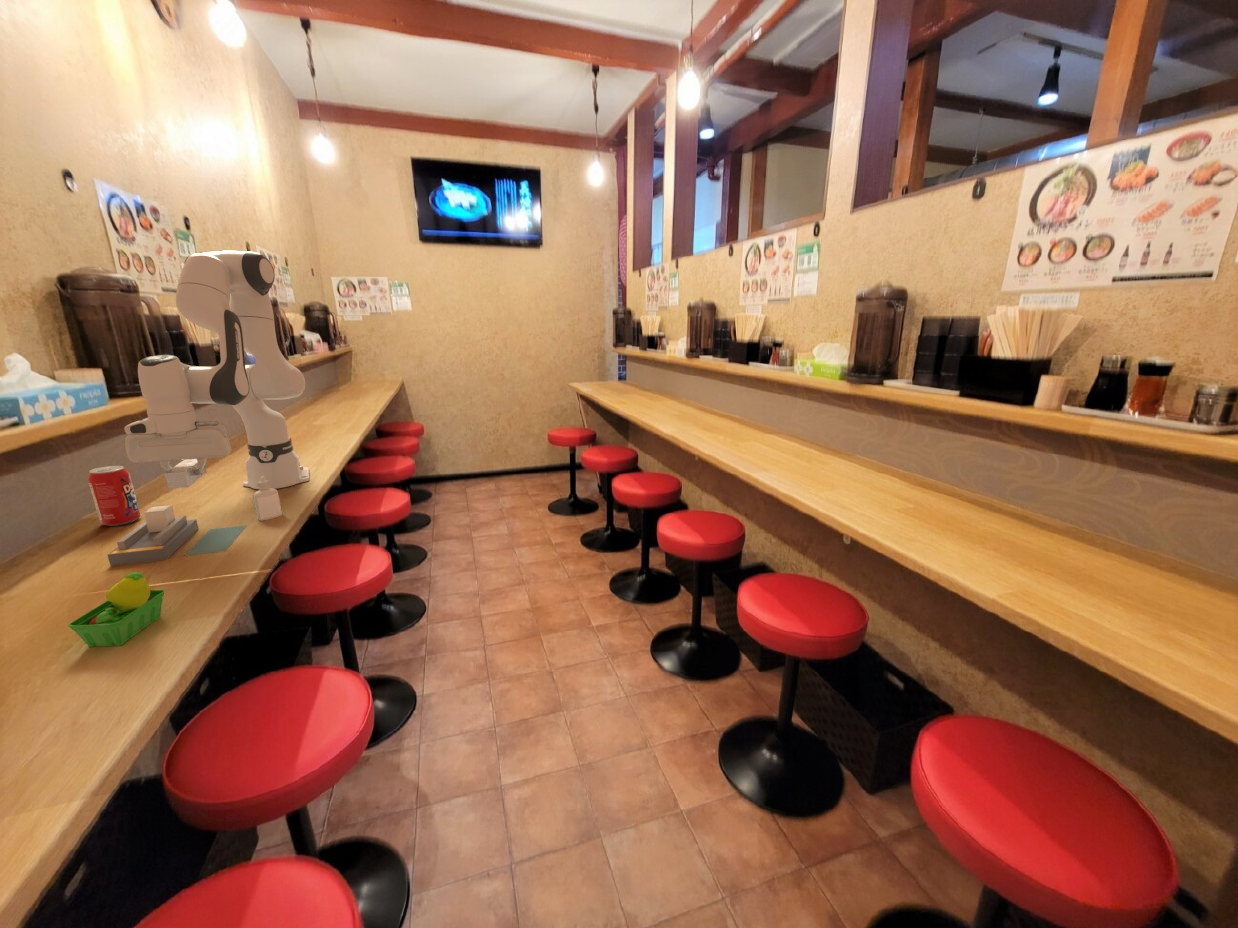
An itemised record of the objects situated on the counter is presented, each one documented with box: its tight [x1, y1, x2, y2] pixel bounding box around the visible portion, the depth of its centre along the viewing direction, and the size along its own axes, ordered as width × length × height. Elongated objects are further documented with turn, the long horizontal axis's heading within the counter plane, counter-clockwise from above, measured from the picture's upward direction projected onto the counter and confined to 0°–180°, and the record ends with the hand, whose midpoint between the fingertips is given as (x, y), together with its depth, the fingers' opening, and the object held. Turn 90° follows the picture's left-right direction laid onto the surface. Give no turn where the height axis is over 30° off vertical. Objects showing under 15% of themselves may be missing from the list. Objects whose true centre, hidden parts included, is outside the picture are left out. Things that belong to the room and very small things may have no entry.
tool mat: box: [184, 524, 248, 557], centre depth 125 cm, size 16×8×1 cm, turn 20°
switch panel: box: [107, 515, 199, 567], centre depth 121 cm, size 18×10×5 cm, turn 20°
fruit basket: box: [67, 572, 166, 648], centre depth 88 cm, size 11×9×11 cm
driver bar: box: [163, 459, 208, 490], centre depth 128 cm, size 12×4×4 cm, turn 21°
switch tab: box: [143, 505, 176, 533], centre depth 123 cm, size 4×4×5 cm
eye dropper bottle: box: [252, 477, 283, 521], centre depth 138 cm, size 4×6×12 cm
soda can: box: [87, 465, 142, 527], centre depth 133 cm, size 8×8×15 cm
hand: (187, 475), depth 128 cm, fingers closed on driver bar, 4 cm apart
